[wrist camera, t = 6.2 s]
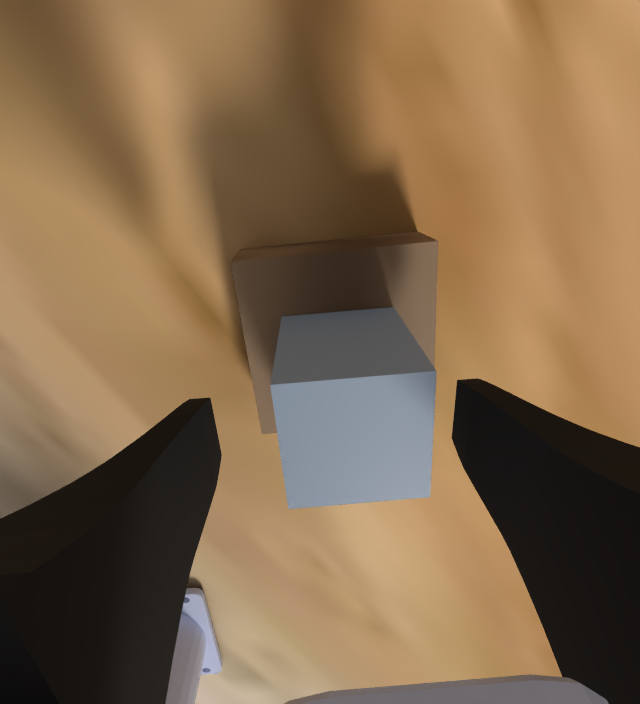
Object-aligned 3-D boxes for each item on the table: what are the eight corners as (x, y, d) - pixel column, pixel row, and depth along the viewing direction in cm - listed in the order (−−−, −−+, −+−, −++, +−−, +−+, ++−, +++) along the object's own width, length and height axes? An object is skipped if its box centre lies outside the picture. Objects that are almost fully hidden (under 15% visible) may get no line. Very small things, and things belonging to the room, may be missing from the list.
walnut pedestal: (267, 396, 19) (262, 434, 16) (242, 247, 16) (230, 262, 13) (413, 381, 19) (432, 416, 16) (414, 229, 16) (437, 241, 13)
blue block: (293, 411, 16) (288, 508, 11) (281, 316, 14) (269, 384, 9) (393, 403, 16) (430, 497, 11) (393, 306, 14) (436, 370, 9)
